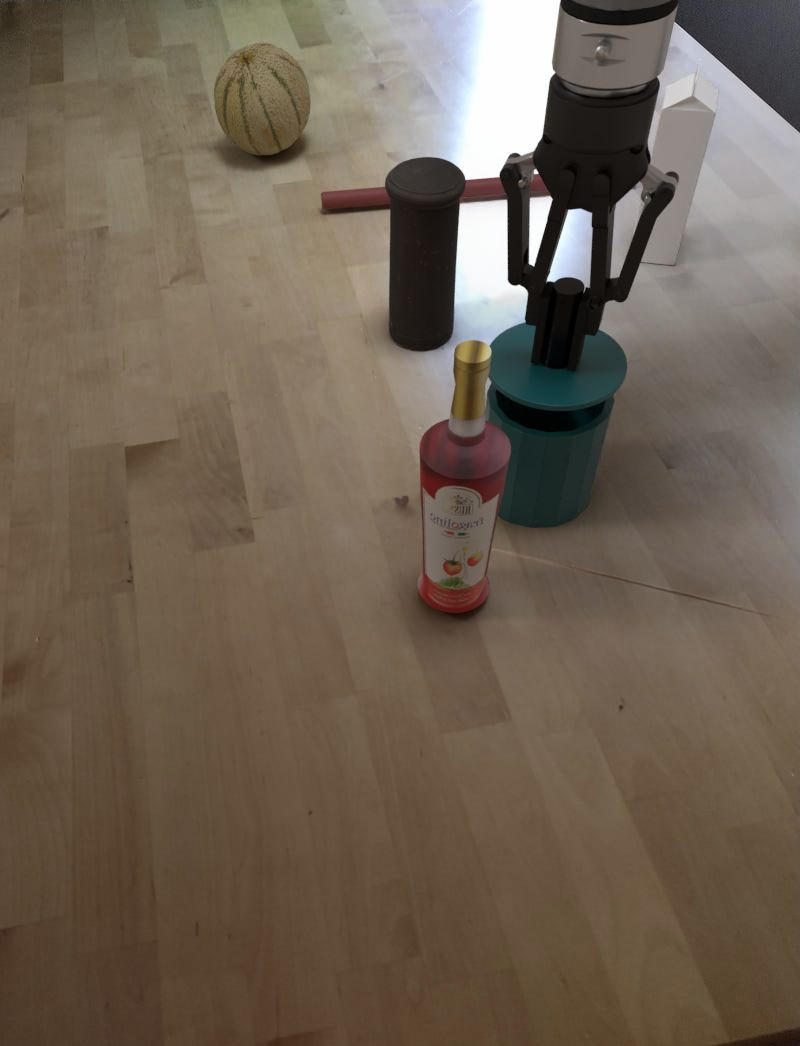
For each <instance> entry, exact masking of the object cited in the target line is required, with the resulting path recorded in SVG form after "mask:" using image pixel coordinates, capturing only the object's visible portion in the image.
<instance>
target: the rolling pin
mask: <svg viewBox="0 0 800 1046" xmlns="http://www.w3.org/2000/svg"><path fill="white" fill-rule="evenodd" d="M465 180H466V184H465V190H464V193H463V195H462V196H461V197H460V199H464V198H474V197H476V198H477V197H486V196H487V197H488V196H497V195H498V196H499V195H506V194H505V191H504V188H503V185H502V183H501V180H500V176H496V177H483V178H482V177H481V178H472V179H465ZM535 192H548V190H547V188H546V186H545V185H544V183H543V181H542V179H541V177H540V175H539V173H534V177H533V179H532V181H531V183H530V193H535ZM320 198H321V208H322V210H330V209H343V208H354V207H367V206H379V205H380V206H381V205H390V197H389V195H388V194H387V191H386V189H385V186H376V187H375V186H374V187H363V188H353V189H351V188H350V189H342V190H341V189H340V190H330V191H321V193H320Z"/></svg>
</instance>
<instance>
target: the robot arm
mask: <svg viewBox="0 0 800 1046" xmlns="http://www.w3.org/2000/svg"><path fill="white" fill-rule="evenodd" d="M679 2H680V0H560V1H559V5H558V6H559V7H558V12H557V13H558V14H557V20H556V27H555V35H554V44H553V50H552V59H551V66H552V70H553V72H554V73H553V74H552V76H550V79H549V83H548V91H547V98H546V105H545V112H544V113H545V114H544V121H543V129H542V134H541V135H542V136H541V138H540V139H539V141H538V142H537V145H536V147H535V148H534V150H533V151H530V152H528V153H524V154H522V155H521V154H520V153H518V152H512V153H510V154H509V155H508V156H507V158H506V160H505V162H504V164H503V166H502V168H501V170H500V171H499V174H498V177H500V180H501V183H502V185H503V188H504V191H505V194H504V195H505V196H506V201H507V202H506V204H507V205H506V207H507V208H506V209H507V210H506V213H507V214H506V217H507V224H506V225H507V226H506V228H507V230H506V231H507V232H506V233H507V236H506V237H507V238H506V239H507V282H508V283H509V284H510V285H511V286H512V287H513V286H514V287H517V286H521V287H523V288H524V289H525V290H526V293H527V300H526V306H525V313H524V314H525V315H524V322H526V325H532V326H536V329H535V336H534V343H533V349H532V356H531V363H534V364H539V362H540V360H541V357H542V352H543V345H544V339H545V333H546V327H547V320H548V314H549V308H550V301H551V295H552V289H553V284H554V282H555V281H549V280H548V278H549V276H550V273H551V269H552V266H553V263H554V260H555V256H556V253H557V249H558V246H559V243H560V240H561V235H562V232H563V229H564V226H565V223H566V220H567V216H568V213H569V211H572V210H583V211H585V212H588V213H591V229H592V230H591V231H592V232H591V253H590V270H589V271H590V272H589V287H587V286H586V287H585V288H584V293H583V297H582V299H581V301H580V304H579V308H578V313H577V319H576V324H575V329H574V335H573V340H572V345H571V351H570V356H569V361H568V367H567V370H572V371H576V368H577V365H578V362H579V360H580V357H581V354H582V350H583V345H584V340H585V335H591V336H595V335H596V333H597V332H598V330H600V327H601V324H602V321H603V316H604V311H605V306H606V304H608V302H612V301H615V302H616V303H624V302H626V301H627V300H628V298H629V296H630V292H631V290H632V287H633V284H634V282H635V278H636V277H637V273H638V270H639V267H640V265H641V263H642V262H641V260H642V257H643V254H644V252H645V249H646V246H647V243H648V241H649V238H650V235H651V233H652V230H653V227H654V224H655V222H656V219H657V217H658V216H659V215H660V214H661V213H662V211H663V210H664V209H665V208H666V207H667V205H668V204H669V203H670V202H671V201H672V199H673V197H674V194H675V191H676V188H677V185H678V182H679V176H678V174H677V173H676V172H673V171H670V172H667V173H666V174H664V173H663V172H662V171H660V170H659V169H657V168H656V167H654V166H653V165H651V164H650V162H651V152H650V150H649V149H650V148H649V138H650V133H651V128H652V124H653V118H654V115H655V114H654V113H655V109H656V106H657V101H658V96H659V91H660V87H661V82H660V79H659V78H658V77H659V76H660V75H661V74H662V72H663V71H664V69H665V65H666V60H667V56H668V51H669V47H670V42H671V38H672V33H673V29H674V26H675V25H674V24H675V20H676V16H677V11H678V8H679ZM535 170H536V172H537V174H539V175H540V177H541V179H542V181H543V183H544V185H545V186H546V188H547V190H548V191H547V192H548V194H549V196H550V198H551V203H550V207H549V211H548V214H547V217H546V223H545V227H544V230H543V233H542V238H541V240H540V243H539V248H538V251H537V255H536V258H535V261H534V265H533V264H530V228H531V227H530V226H531V225H530V221H531V219H530V218H531V213H530V212H531V210H530V209H531V192H530V183H531V181H532V179H533V177H534V174H535ZM639 183H641V184H642V189H641V193H640V200H641V199H642V201H643V202H644V203H645V204H644V207H643V210H642V213H641V216H640V218H639V221H638V224H637V227H636V230H635V233H634V236H633V235H632V237H633V238H632V237H631V241H630V244H629V248H628V250H627V253H626V255H625V258H624V261H623V264H622V267H621V270H620V273H619V276H617V277H611V275H612V274H611V273H612V259H613V243H614V242H613V241H614V228H615V213H616V207H617V203H619V202H620V201H621V200H622V199H623V198H624V197H625V196H626V195H627V194H628V193H629V192H630V191H631V190H632V189H633V188H634V187H636V186H637V185H638V184H639Z"/></svg>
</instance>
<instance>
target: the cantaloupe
mask: <svg viewBox="0 0 800 1046" xmlns="http://www.w3.org/2000/svg"><path fill="white" fill-rule="evenodd" d="M308 82H309V81H308V79H307V77H306V74H305V71H304V69H303V67H302V66H301V65H300V63H299V61H298V60H296V58H295V57H294V56H293V55H291V54H290V53H289V52H288V51H287V50H285V49H283V48H282V47H279V46H276V45H274V44H272V43H269V42H255V43H251V44H247V45H243V46H242V47H240V48H239V49H237V50H235V51H234V52H232V53H231V54H230V56H229V57H228V58H227V59H226V60H225V62H223V64H222V66H220V68H219V71H218V73H217V75H216V78H215V81H214V86H213V87H214V88H213V100H214V111H215V115H216V118H217V122H218V124H219V126H220V128H221V130H222V132H223V134H224V136H225V137H226V138H227V139H228V140H229V141H230V142H231V143H232V144H233V145H234V146H235V147H237V148H239V149H241V150H242V151H244V152H245V153H248V154H250V155H254V156H272V155H276V154H278V153H280V152H282V151H285V150H287V149H288V148H290V147H291V146H292V145H293V144H294V143H295V141H296V140H298V139H299V138H300V137H301V135H302V133H303V132H304V130H305V128H306V127H307V125H308V123H309V122H308V121H309V118H310V114H311V101H312V100H311V93H310V86H309V83H308Z"/></svg>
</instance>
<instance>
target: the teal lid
mask: <svg viewBox="0 0 800 1046" xmlns="http://www.w3.org/2000/svg"><path fill="white" fill-rule="evenodd" d="M553 282H554V284H553V289H552V295H551V301H550V308H549V314H548V320H547V327H546V333H545V339H544V345H543V352H542V357H541V360H540V362H539V364H534V363H531V356H532V349H533V343H534V336H535V329H536V326H532V325H526V322H525V321H524V322H520V323H518V324H516V325H513V326H511V327H509V328H506V329H505V330H504V331H502V332H501V333H499V334H498V335H497V336H496V337H494V339H493V340H492V342H491V343H490V344H489V346H490V348H491V351H492V353H491V363H490V372H489V375H488V379H489V381H490V384H491V383H492V384H493V385H494V387H495V388H496V389H497V390H499V391H500V392H501V393H502V394H504V395H505V396H506V397H508V398H510V399H511V400H513V401H515V402H518V403H520V404H523V405H526V406H528V407H532V408H536V409H542V410H549V411H571V410H578V409H583V408H587V407H591V406H594V405H596V404H599V403H601V402H603V401H605V400H606V399H608V398H609V397H611V396H612V395H613V396H614V395H615V394H616V392H618V391H619V390H620V389H621V387H622V385H623V384H624V381H625V379H626V376H627V371H628V360H627V355H626V354H625V351H624V349H623V348H622V346H621V345H620V344H619V343H618V342H617V340H616V339H614V338H613V337H612V336H611V335H610V334H608V333H606V332H605V331H603V330H602V329H599V330H598V332H597V333H596V335H595V336H591V335H585V340H584V345H583V350H582V354H581V357H580V360H579V362H578V365H577V368H576V371H572V370H567V367H568V361H569V356H570V351H571V345H572V340H573V335H574V329H575V324H576V319H577V313H578V308H579V304H580V301H581V299H582V297H583V294H584V291H585V288H586V287H585V284H584V282H583V281H582V280H580V279H579V278H577V277H572V276H565V277H560V278H557V279H556V280H555V281H553Z"/></svg>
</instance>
